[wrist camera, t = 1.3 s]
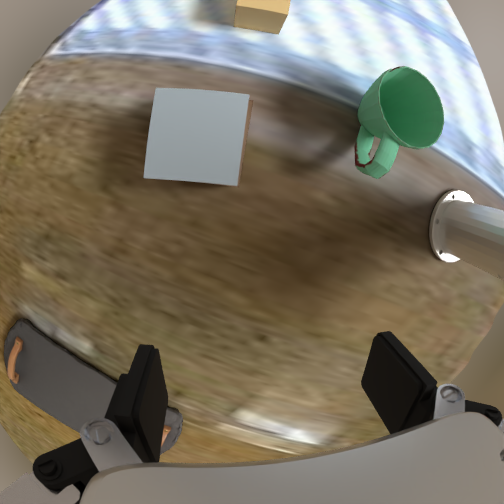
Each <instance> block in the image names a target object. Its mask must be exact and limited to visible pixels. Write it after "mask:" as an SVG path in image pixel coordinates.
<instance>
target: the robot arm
mask: <svg viewBox="0 0 504 504" xmlns="http://www.w3.org/2000/svg"><path fill="white" fill-rule="evenodd" d="M429 237H430V243H431V247H432V250H433V252H434V253H435V255H436V256H437V257H438V258H439V259H441V260H443V261H445V262H449V263H451V262H456V261H458V260H459V259H461V260H464V261H466V262H468V263H470V264H472V265H474V266H476V267H478V268H480V269H482V270H484V271H486V272H488V273H490V274H491V275H493V276H495V277H497V278H499V279H501V280H503V281H504V211H503V210H499V209H495V208H491V207H488V206H484V205H480V204H476V203H474V202H473V200H472V199H471V197H470V196H469V195H468V194H467V193H465V192H464V191H460V190H451V191H449V192H447V193H445V194H444V195H443V196H442V197H441V198H440V199H439V201H438V202H437V204H436V206H435V208H434V210H433V213H432V216H431V220H430V227H429ZM436 384H437V381H436V380H435V379H434V378H433V377H432V375H431V374H430V373H429V372H428V371H427V370H426V369H425V368H424V367H423V366H422V364H421V363H420V362H419V361H418V360H417V359H416V358H415V357H414V356H413V355H412V354H411V353H410V352H409V350H408V349H407V348H406V347H405V346H404V345H403V344H402V343H401V342H400V341H399V340H398V339H397V338H396V337H395V336H394V335H393V333H392V332H390V331H387V332H380V333H378V334H377V335H376V336H375V337H374V339H373V342H372V346H371V350H370V353H369V357H368V360H367V364H366V367H365V371H364V374H363V377H362V381H361V385H362V388H363V389H364V391H365V393H366V394H367V396H368V398H369V399H370V401H371V402H372V404H373V406H374V407H375V409H376V411H377V412H378V414H379V416H380V417H381V419H382V421H383V422H384V424H385V426H386V427H387V429H388V431H389V432H390V434H391V435H388V436H384V437H381V438H378V439H374V440H371V441H367V442H364V443H360V444H356V445H352V446H348V447H344V448H340V449H335V450H330V451H325V452H320V453H315V454H309V455H303V456H297V457H290V458H282V459H274V460H264V461H253V462H236V463H162V462H159V458H160V451H161V444H162V437H163V430H164V423H165V417H166V411H167V405H168V393H167V389H166V384H165V380H164V375H163V370H162V365H161V360H160V354H159V350H158V349H154V346H153V345H142V344H140V345H139V347H138V349H137V352H136V354H135V357H134V360H133V362H132V365H131V367H130V370H129V373H128V374H121V376H120V378H119V380H118V383H117V385H116V388H115V390H114V393H113V395H112V398H111V401H110V403H109V406H108V409H107V412H106V414H105V417H104V418H95V419H91V420H89V421H87V422H86V423H85V424H84V425H83V426H82V428H81V430H80V436H81V438H80V439H78V440H75V441H73V442H71V443H69V444H66V445H64V446H62V447H59V448H57V449H54V450H52V451H50V452H47V453H45V454H42V455H41V456H39V457H38V458H37V459H36V460H35V461H34V464H33V472H32V473H31V474H29V475H28V473H25V474H24V475H23V476H21V477H20V478H19V479H18V480H16V481H15V482H14V483H13V484H11V485H10V486H9V487H7V488H6V489H5V490H4V491H2V492H1V493H0V504H504V419H502V414H501V413H500V411H499V410H498V409H497V408H496V407H493V406H490V405H486V404H481V403H477V402H472V401H468V400H465V395H464V392H463V391H462V389H460V388H459V387H458V386H456V385H452V384H443V385H441V386H440V387H439V388H437V386H436Z"/></svg>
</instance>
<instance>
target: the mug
mask: <svg viewBox="0 0 504 504" xmlns="http://www.w3.org/2000/svg"><path fill="white" fill-rule="evenodd" d="M358 120H359V122H360V124H361V127H360V130H359V134H358V137H357V140H356V144H355V166H356V167H357V169H358V170H359V171H361V172H362V173H364V174H367V175H369V176H371V177H374V178H376V179H379V178H381V177H382V176H384V175H385V174H386V173H388V172H389V170H390V168H391V166H392V164H393V162H394V160H395V157H396V154H397V151H398V148H399V145H401V146H404V147H408V148H413V149H423V148H428V147H430V146H432V145H433V144H434V143H436V142H437V140H438V139H439V137H440V135H441V133H442V129H443V125H444V112H443V107H442V103H441V100H440V97H439V95H438V93H437V92H436V90H435V88H434V86H433V85H432V84H431V83H430V81H429V80H428V79H427V78H426V77H425V76H424V75H422V74H421V73H420V72H418V71H417V70H415V69H412V68H409V67H407V66H402V67H397V68H394V69H389V70H387V71H385V72H384V73H383V74H382V75H381V76H380V77H379V78H378V79H377V80H376V81H375V82H374V83H373V84H372V86H371V87H370V88H369V89H368V91H367V92H366V93H365V95H364V97H363V98H362V100H361V103H360V106H359V109H358ZM374 136H376V137H378V138H380V139H381V141H380V144H379V146H378V149H377V151H376V153H375V155H374V157H373V159H372V160H371V161H370V158H369V155H370V151H371V147H372V143H373V139H374Z"/></svg>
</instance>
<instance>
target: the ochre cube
mask: <svg viewBox="0 0 504 504" xmlns="http://www.w3.org/2000/svg"><path fill="white" fill-rule="evenodd" d="M289 6H290V0H238V1H237V4H236V11H235V20H234V27H239V28H246V29H252V30H258V31H264V32H269V33H274V34H279V32H280V30H281V28H282V26H283V24H284V22H285V20H286V18H287V16H288V11H289Z"/></svg>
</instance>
